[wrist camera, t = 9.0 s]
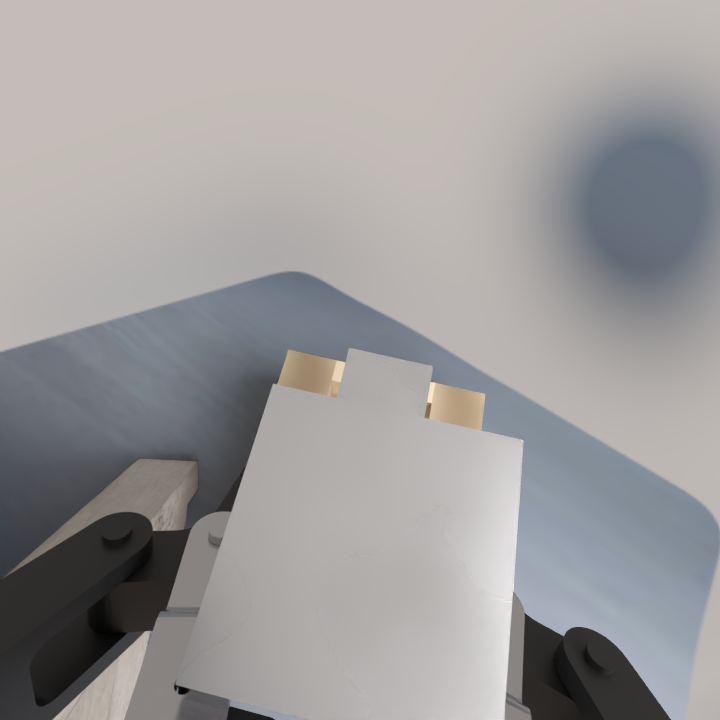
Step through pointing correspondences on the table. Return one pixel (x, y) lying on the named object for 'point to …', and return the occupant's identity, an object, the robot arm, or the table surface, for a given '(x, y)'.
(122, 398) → the table surface
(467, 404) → the beech well block
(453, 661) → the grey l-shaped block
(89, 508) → the grey letter a
